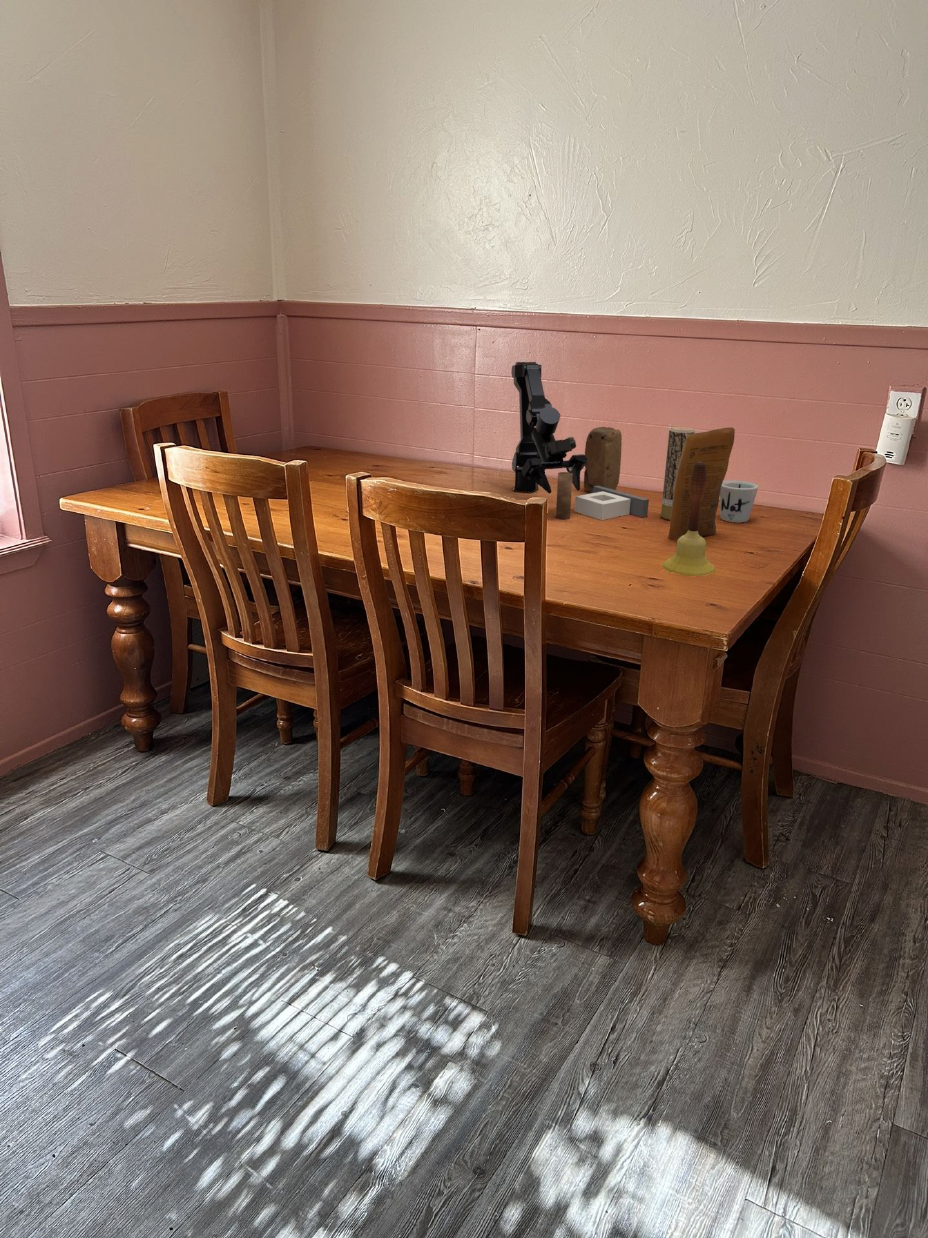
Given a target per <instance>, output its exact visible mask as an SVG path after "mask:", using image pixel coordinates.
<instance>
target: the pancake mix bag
mask: <svg viewBox="0 0 928 1238" xmlns="http://www.w3.org/2000/svg"><path fill="white" fill-rule="evenodd" d="M735 430H736V429H735V428H734V427H722V428H716V429H711V430H708V431H701V432H695V433H693V434H689V439H685V442H684V446H683V449H682V453H681V457H680V460H679V464H678V468H677V472H676V478H675V484H674V492H673V502H672V510H671V519H670V520H669V531H668V534H667V535H668V536H667V539H673V540H678V539H679V538H680V537H681V536H683V535H685V534H686V533H687V532H688V528H689V519H690V510H691V500H692V497H691V491H690V485H691V477H692V473H693V470H694V467H695V464H696V462H705V464H706V473H707V479H706V488H705V492H704V495H703V497H702V500H701V507H700V516H699V524H698V534H699V535H700V536H701V537H702V538H703V537H707V536H714V535H715V534H716V531H717V526H716V520H717V519H716V518H717V511H718V507H719V504H720V491H721V486H722V483H723V481H725V477H726V476H727V471H728V469H729V463H730V457H731V452H732V450H733V447H734V443H735V433H736V431H735Z"/></svg>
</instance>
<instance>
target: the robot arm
mask: <svg viewBox="0 0 928 1238" xmlns="http://www.w3.org/2000/svg"><path fill="white" fill-rule="evenodd" d="M511 377H512V378H513V385H514V387H515V388H516V390H517V391H518V397H519V427H520V428H519V429H520V431H519V432H520V440H519V442H518V443H517V445H516V447H515V452H514V454H513V458H512V461H511V470H512V471H513V472H514V473H515V475H514V477H515V478H514V488H513V489H514V490H517V491H516V492H521V491H526V492H525V493H529V492H532V493H534V492H536V491H537V490H539V486H540V488H541V489H543V490H544V491H545V492H546V493H548V494H551V493H552V488H551V484H550V482H549V480H548V477H547V475H546V470H556V469H557V470H558V469H566V472H569V473H572V474H573V477H572V486H573V487H574V489H576V491H577V492H578V491H579V490H580V489H581V471H582V470H583V469H585V465H586V464H587V462H588V460H587V457H586V456H585V453H584V454H583V453H582V454H572V455H571V456H570V458H569V459H568V460H564V458H565V459H566V457H567V456H568V455H567V453H569V452H572V451H573V450H574V449H576V448H577V442H576V440H575V438H574V437H573V436H569V437H567V438H565V439H557V440H556V438H555V435H554V434H555V433H556V431H557V428H558V425H559V422H560V419H561V413H560V412H559V411H558V409H557V408H555V407H553V404H552V403H551V401H549V400H548V399H547V398H546V395H545V391H544V385H543V382H542V364H538V363H537V362H536V361H516V362H515V364H514V365H512V366H511Z"/></svg>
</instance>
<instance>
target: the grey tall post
mask: <svg viewBox="0 0 928 1238" xmlns="http://www.w3.org/2000/svg"><path fill="white" fill-rule="evenodd" d="M693 433H696V428H694V427H688V426H671V427H669V431H668V439H667V449H666V457H665V458H666V459H665V460H666V462H665V470H664V479H663V489H662V490H663V491H662V500H661V511H660V516H661V518H662V519H664V520H667V521H670V519H671V510H672V502H673V492H674V484H675V478H676V472H677V468H678V464H679V460H680V457H681V453H682V449H683V446H684V442H685V439H689V434H693Z"/></svg>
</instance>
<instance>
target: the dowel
mask: <svg viewBox="0 0 928 1238" xmlns="http://www.w3.org/2000/svg"><path fill="white" fill-rule="evenodd" d="M572 477H573V474H572V473H569V472H567V471H561V472H558V473H557V485H556V486H557V489H556V504H555V505H556V509H555V518H556V519H558V520H561V521H562V520H569V519H571V507H572V505H571V504H572V491H573V489H572V488H573V483H572Z"/></svg>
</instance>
